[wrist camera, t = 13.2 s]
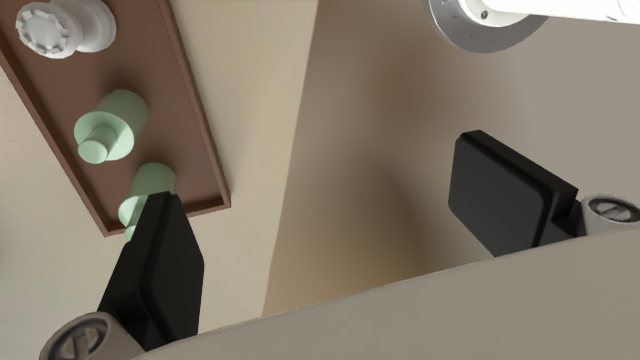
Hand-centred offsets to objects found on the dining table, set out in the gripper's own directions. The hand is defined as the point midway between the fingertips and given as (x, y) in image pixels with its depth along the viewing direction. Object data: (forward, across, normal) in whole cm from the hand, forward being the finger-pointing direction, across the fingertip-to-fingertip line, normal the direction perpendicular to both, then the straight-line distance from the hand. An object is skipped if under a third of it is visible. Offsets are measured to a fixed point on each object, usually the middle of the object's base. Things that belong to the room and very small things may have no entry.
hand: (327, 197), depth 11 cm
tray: (+25, +14, +3) cm, 28 cm away
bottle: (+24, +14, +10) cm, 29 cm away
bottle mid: (+24, +14, +3) cm, 28 cm away
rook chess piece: (+24, +14, -5) cm, 28 cm away
